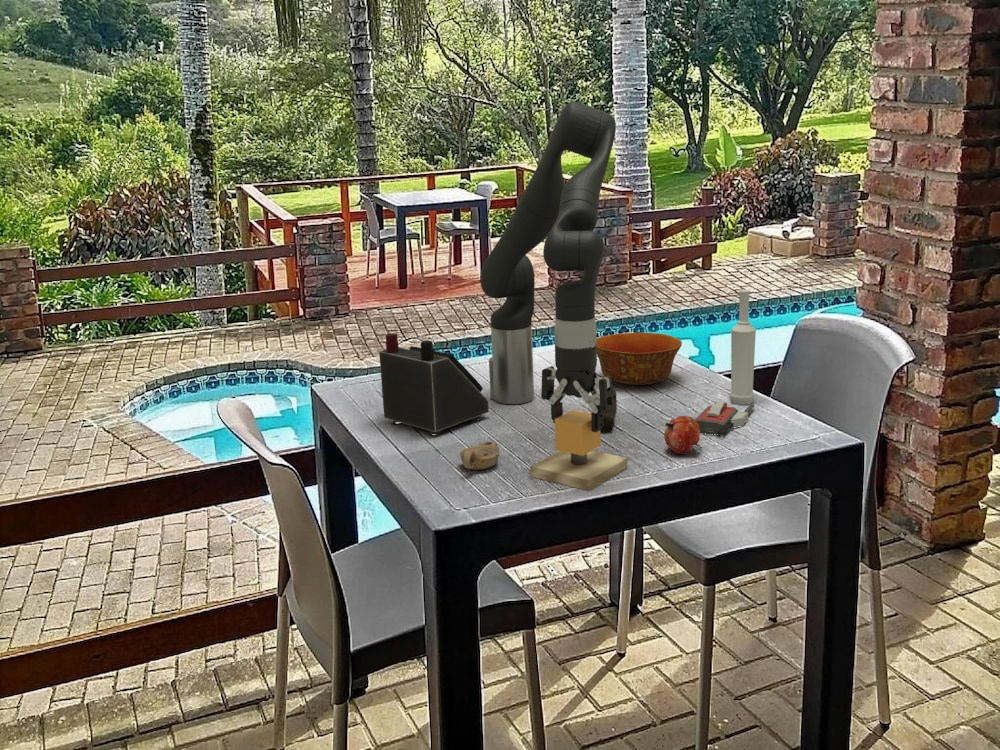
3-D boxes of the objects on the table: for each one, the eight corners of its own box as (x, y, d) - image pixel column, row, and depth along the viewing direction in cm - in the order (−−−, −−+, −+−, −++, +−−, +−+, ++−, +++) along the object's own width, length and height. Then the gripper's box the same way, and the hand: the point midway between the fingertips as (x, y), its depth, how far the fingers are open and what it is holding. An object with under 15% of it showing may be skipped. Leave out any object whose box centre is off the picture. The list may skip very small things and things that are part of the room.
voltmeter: (490, 418, 229) (486, 328, 224) (435, 438, 218) (430, 345, 212) (439, 404, 240) (433, 319, 234) (384, 423, 228) (377, 334, 223)
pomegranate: (686, 453, 210) (647, 428, 207) (709, 425, 208) (671, 400, 205) (696, 470, 203) (657, 445, 200) (720, 442, 201) (681, 416, 198)
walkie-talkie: (732, 441, 210) (757, 411, 227) (732, 420, 209) (758, 392, 226) (689, 436, 214) (717, 407, 231) (689, 415, 213) (717, 388, 230)
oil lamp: (475, 453, 209) (474, 429, 207) (510, 457, 206) (509, 433, 204) (447, 476, 197) (446, 451, 196) (484, 481, 194) (482, 455, 193)
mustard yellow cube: (555, 449, 195) (554, 419, 193) (573, 439, 199) (572, 409, 197) (582, 455, 191) (582, 424, 189) (600, 445, 196) (599, 415, 194)
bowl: (619, 365, 265) (619, 326, 262) (696, 376, 253) (697, 336, 250) (575, 386, 249) (574, 345, 246) (656, 399, 237) (656, 356, 234)
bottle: (749, 406, 229) (752, 293, 222) (726, 403, 232) (728, 292, 225) (757, 399, 233) (760, 289, 226) (734, 397, 236) (736, 287, 229)
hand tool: (613, 434, 216) (613, 413, 215) (594, 433, 217) (593, 412, 216) (625, 406, 234) (625, 386, 233) (607, 405, 235) (607, 385, 233)
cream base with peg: (530, 476, 195) (528, 425, 193) (570, 455, 205) (568, 406, 202) (589, 490, 188) (588, 437, 185) (627, 468, 197) (627, 417, 194)
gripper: (531, 341, 191) (533, 425, 195) (597, 351, 182) (598, 439, 187) (555, 332, 196) (557, 414, 201) (620, 342, 188) (621, 427, 192)
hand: (577, 426), depth 194 cm, fingers open, 8 cm apart
